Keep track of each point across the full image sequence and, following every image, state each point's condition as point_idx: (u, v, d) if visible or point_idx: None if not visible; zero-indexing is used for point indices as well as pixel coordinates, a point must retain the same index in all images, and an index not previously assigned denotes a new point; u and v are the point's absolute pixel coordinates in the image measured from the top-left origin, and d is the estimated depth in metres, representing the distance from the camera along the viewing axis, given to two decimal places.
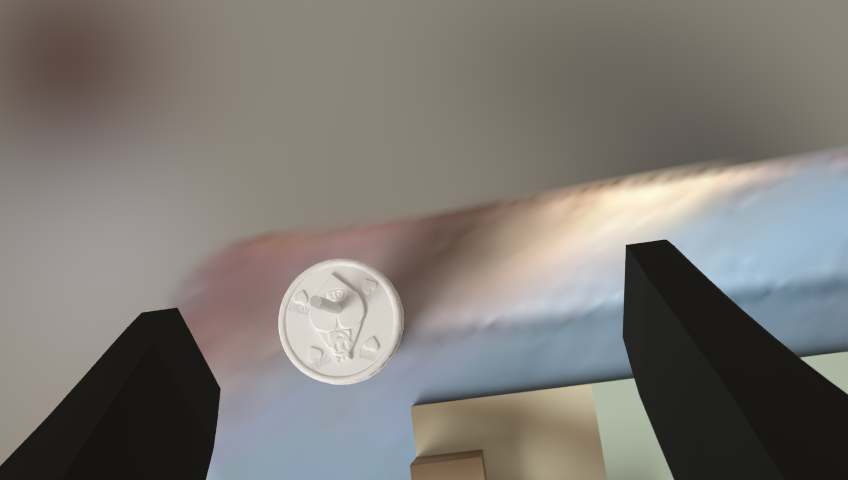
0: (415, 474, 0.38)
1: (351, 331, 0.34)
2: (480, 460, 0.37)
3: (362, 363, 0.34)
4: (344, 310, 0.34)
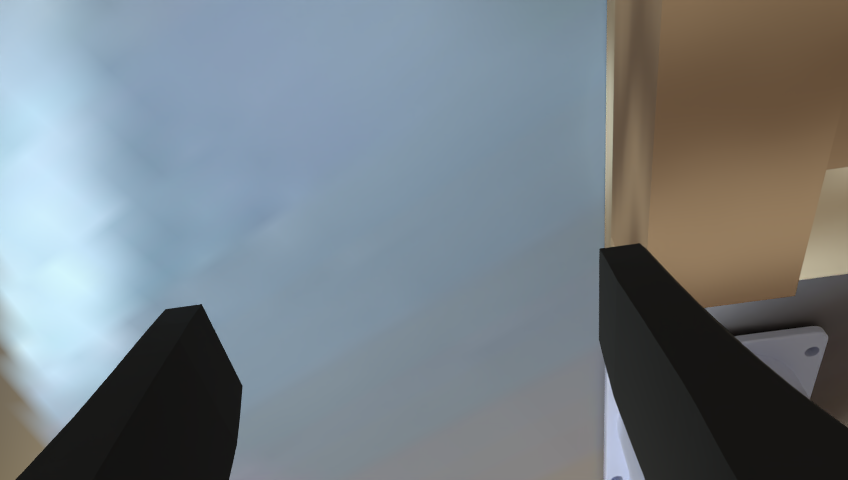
0: None
1: None
2: None
3: None
4: None
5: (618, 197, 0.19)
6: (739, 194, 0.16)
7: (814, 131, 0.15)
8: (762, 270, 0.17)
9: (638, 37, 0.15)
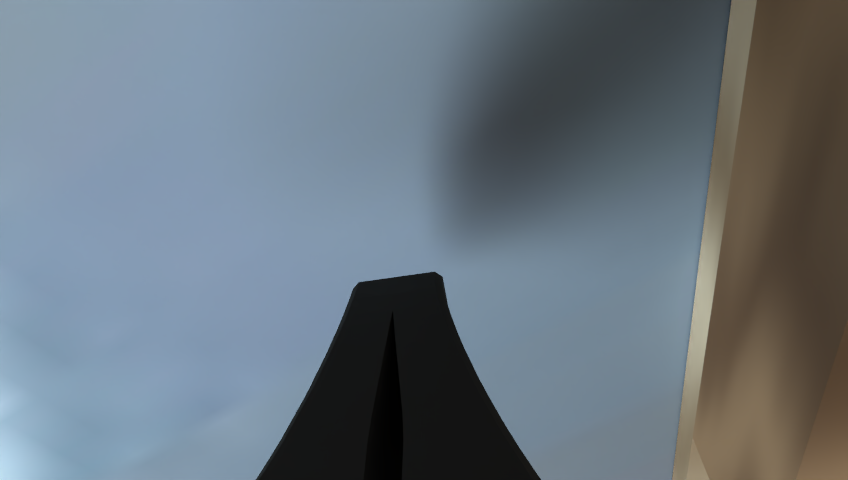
0: None
1: None
2: None
3: None
4: None
5: (714, 409, 0.13)
6: None
7: None
8: None
9: (790, 245, 0.09)
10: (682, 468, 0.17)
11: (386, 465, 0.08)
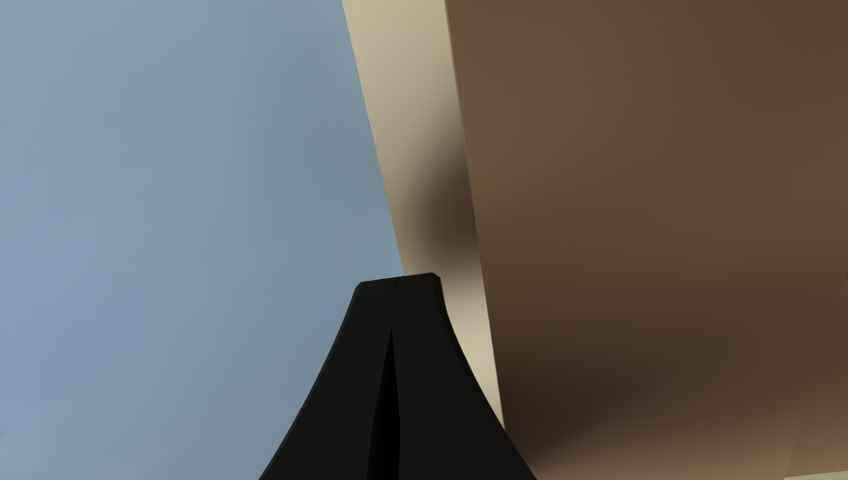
0: (480, 34, 0.06)
1: None
2: None
3: None
4: None
5: None
6: None
7: (763, 436, 0.09)
8: None
9: (484, 286, 0.10)
10: None
11: (388, 465, 0.08)
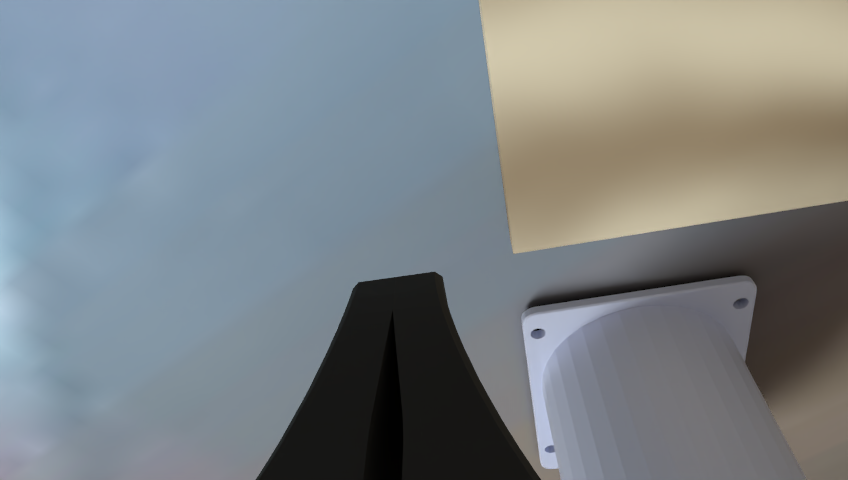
0: None
1: None
2: None
3: None
4: None
5: None
6: None
7: None
8: None
9: None
10: (508, 215, 0.21)
11: (386, 465, 0.08)
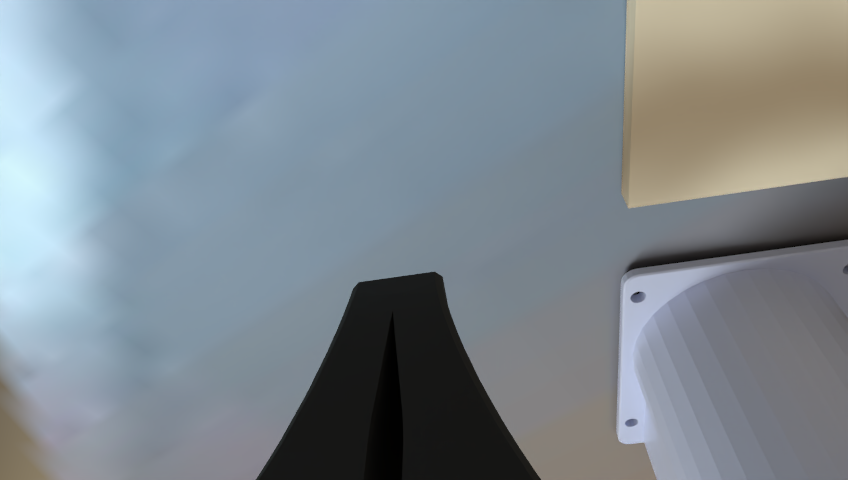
0: None
1: None
2: None
3: None
4: None
5: None
6: None
7: None
8: None
9: None
10: (627, 166, 0.20)
11: (386, 465, 0.08)
